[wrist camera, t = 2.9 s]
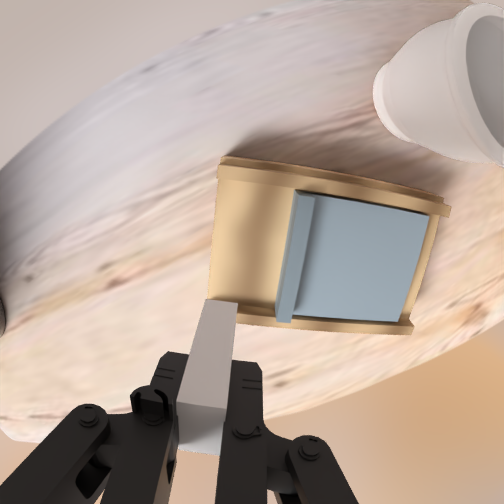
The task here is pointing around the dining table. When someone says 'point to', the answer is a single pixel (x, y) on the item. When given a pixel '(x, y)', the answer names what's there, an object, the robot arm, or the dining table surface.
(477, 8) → the jar
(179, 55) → the dining table surface
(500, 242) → the dining table surface
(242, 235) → the slide box
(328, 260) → the cover plate
